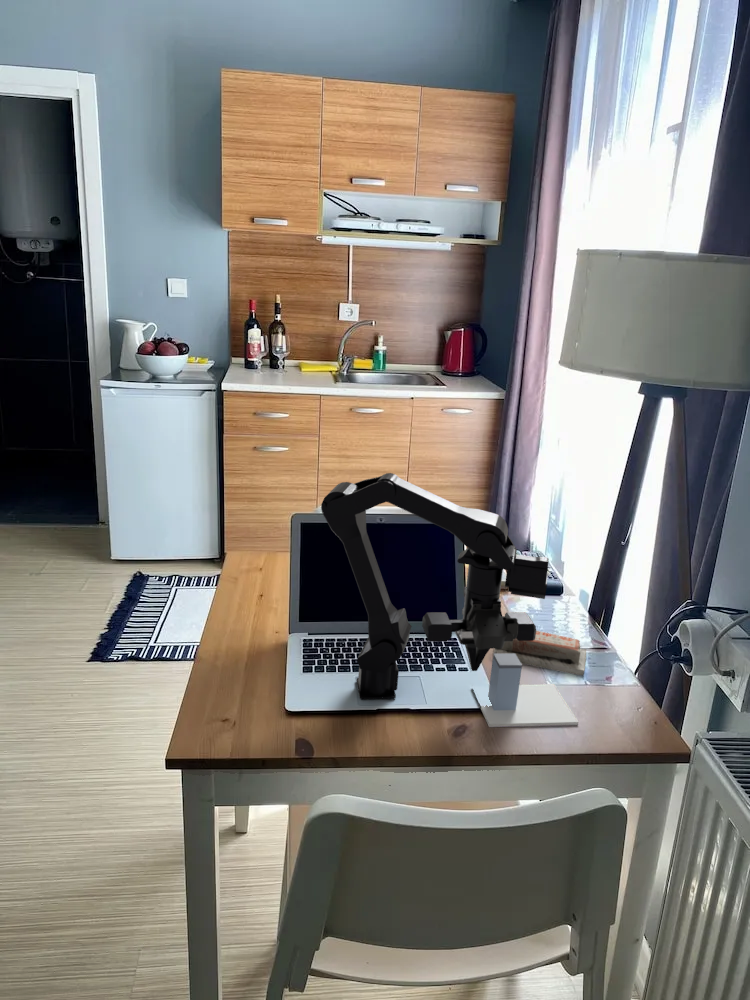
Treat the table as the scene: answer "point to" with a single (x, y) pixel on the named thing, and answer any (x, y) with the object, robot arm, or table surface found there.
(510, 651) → the packaged product
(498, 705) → the block
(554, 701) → the mat
